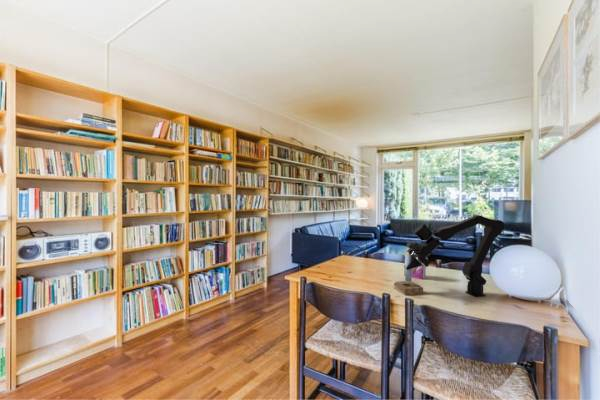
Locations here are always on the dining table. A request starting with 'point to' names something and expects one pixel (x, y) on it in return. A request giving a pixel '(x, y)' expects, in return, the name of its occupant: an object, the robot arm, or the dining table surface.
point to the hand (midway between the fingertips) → (405, 268)
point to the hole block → (408, 288)
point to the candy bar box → (418, 270)
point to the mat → (407, 281)
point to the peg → (409, 272)
